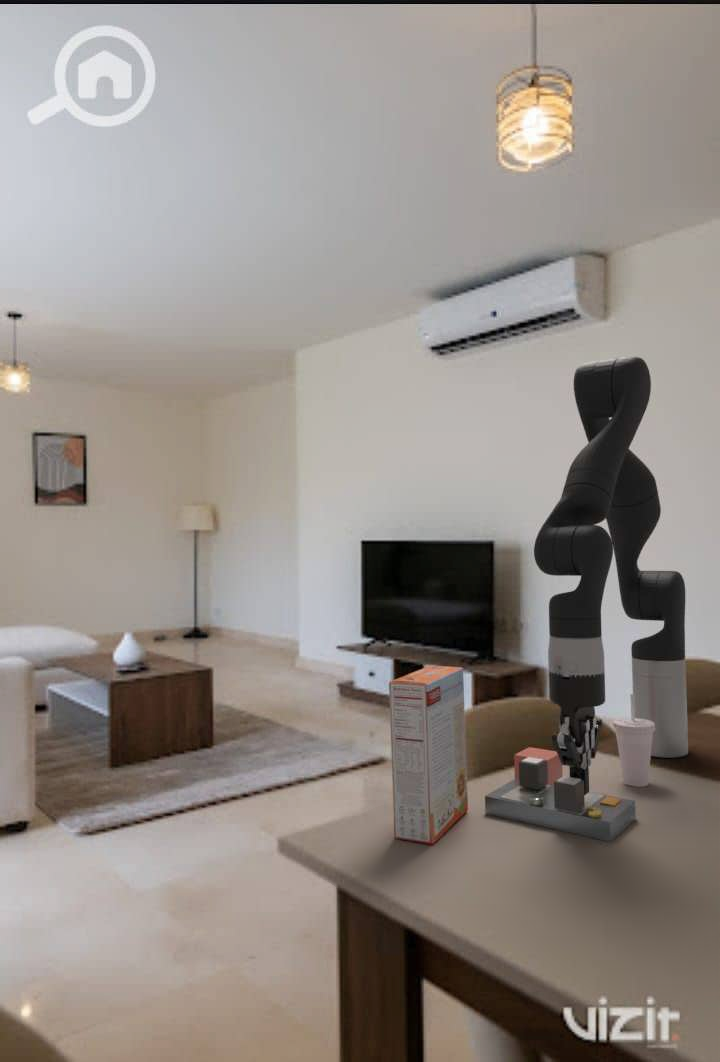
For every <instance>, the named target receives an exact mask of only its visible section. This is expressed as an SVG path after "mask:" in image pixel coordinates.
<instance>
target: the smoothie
mask: <svg viewBox="0 0 720 1062" xmlns="http://www.w3.org/2000/svg"><path fill="white" fill-rule="evenodd" d="M629 695H630V717H625V718H624V717H623V718H621V717H620V718H616V719H614V720H613V721H612V722H613V724H612V728H613V729H614V730H615V735H616V736H615V737H616V742H617V748H618V755H619V763H620V768H621V769H620V770H621V775H622V783H623V784H624V785H627V786H631V787H638V788H639V787H646V786H648V785H649V779H650V778H649V775H650V767H651V766H650V765H651V758H652V756H651V749H652V739H653V731H655V723H654V722H652V721H649V720H645V719H638V718H635V711H634V694H633V693H630V694H629Z"/></svg>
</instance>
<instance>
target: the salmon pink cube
mask: <svg viewBox="0 0 720 1062" xmlns="http://www.w3.org/2000/svg"><path fill="white" fill-rule="evenodd" d="M513 757H514V758H513V759H514V763H513V764H514V766H513V767H514V779H516V778H517V779H519V762H520V761H522V760H524V759H526V758H528V757H532V758H538V759H544V760H546V761H547V784H549V785H554V782H555V781H556V780H558V779H560V778H561V777H563V776H564V775H563V765H562V764H561V761H560V759H559V756H558V754H557V752H556V750H549V749H545V748H536V747H530V746H529V747H527V748H525V749H523V750H521V751H519V752H516V753H514V756H513Z"/></svg>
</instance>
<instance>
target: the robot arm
mask: <svg viewBox="0 0 720 1062" xmlns="http://www.w3.org/2000/svg"><path fill="white" fill-rule="evenodd" d="M651 389H652V379H651V374H650V370H649V367H648V364H647V362H646V361H645V360H644V359H643V358H642V357H638V356H624V357H623V356H622V357H617V358H616V357H615V358H610V359H608V358H607V359H603V360H595V361H589V362H583V363H582V364H580V365H579V366H578V367H577V368H576V369H575V371H574V377H573V393H574V399H575V404H576V407H577V408H576V409H577V411H578V414H579V419H580V421H581V424H582V427H583V430H584V433H585V436H586V439H587V444H586V445H585V446H584V447H583V448H582V449H580V451H579V452H578V454H577V455H576V457H575V458H574V459H573V461H572V463H571V464H570V466H569V469H568V472H567V475H566V478H565V479H566V480H565V482H564V486H563V490H562V493H561V497H560V499H559V501H558V502H557V503H556V505H555V506H554V508H553V509H552V511H551V512H550V514H549V515H548V517H547V518H546V520H545V521H544V523H543V524H542V525H541V527H540V529H539V531H538V533H537V536H536V539H535V542H534V546H533V556H534V562H535V563H536V565H537V567H538V569H539V570H540V571H541V572H542V573H544V574H546V575H548V576H554V577H555V576H557V577H559V576H561V577H563V576H564V577H565V576H569V577H570V576H572V577H574V576H575V577H576V576H577V577H579V576H580V580H579V582H578V585H577V587H576V588H575V589H573V590H571V591H566V592H561V593H557V594H555V595H553V596H552V597H551V598H550V599H549V602H548V624H549V625H548V629H549V630H548V631H549V642H548V649H547V650H548V651H547V652H548V653H547V659H548V661H547V662H548V698H549V700H550V702H552V703H553V704H555V705H558V706H559V707H560V709H559V710H560V711H559V719H558V728H559V732H558V733H557V732H553V733H552V735H551V741H552V744H553V747H554V749H555V751H556V752H557V754H558V756H559V759H560V761H561V764H562V766H564V767H565V766H567V768H568V769H569V777H572V778H578V779H581V780H584V796H585V795H586V794H587V793H589V792H590V770H589V769H590V768H589V767H591V765H592V759H596V754H597V749H598V745H599V741H600V736H601V731H602V727H603V721H602V719H601V718H597V716H596V710H595V707H600V706H602V705H604V704H605V702H606V678H605V677H606V676H605V674H606V672H605V669H606V668H605V650H604V645H603V636H602V635H603V634H602V605H603V604H602V603H603V598H604V592H605V587H606V584H607V578H608V576H609V572H610V569H611V568H610V567H611V564H612V561H613V555H614V558H615V565H616V572H617V573H616V574H617V579H618V588H619V594H620V600H621V601H620V602H621V605H622V608H623V611H624V613H625V614H626V616H627V617H628V618H629V619H631V620H637V621H655V622H656V621H661V622H663V628H662V629H660V630H659V631H658V632H656V633H655V634H652V635H650V636H646V637H643V638H639V639H636V640H634V641H633V642H632V644H631V673H632V694H634V711H635V718H638V719H645V720H649V721H652V722H654V723H655V731H653V739H652V749H651V757H654V758H655V757H657V758H669V759H671V758H681V757H685V756H687V755H688V754H689V741H688V737H689V735H688V730H689V729H688V704H687V702H688V701H687V697H688V696H687V672H686V671H687V669H686V668H687V667H686V633H685V632H686V629H685V625H686V621H685V620H686V619H685V618H686V584H685V579H684V577H683V576H682V574H681V572H679V571H677V570H640V569H639V566H638V560H639V557H640V555H641V553H642V550H643V549H644V547H645V545H646V543H647V542H648V540H649V539H650V537H651V535H652V534H653V532H654V530H655V528H656V527H657V526H658V523H659V520H660V517H661V510H662V508H661V501H660V497H659V490H658V487H657V481H656V479H655V478H656V477H655V476H654V474H653V473H652V471H651V470H650V469H649V467H648V466H647V464H645V463H644V462H643V461H642V460H641V459H640V458H639V457H638V456H637V455H636V454H635V453H634V452H633V451H632V450H631V449H630V446H631V444H632V443H633V440H634V438H635V435H636V433H637V431H638V428H639V427H640V424H641V423H642V420H643V418H644V416H645V413H646V410H647V407H648V405H649V402H650V397H651V391H652V390H651ZM605 520H606V522H607V523H606V524H607V526H608V531H609V533H608V531H607V530H606V529H605V528H604V527H602V526H601V525H597V524H600V523H602V522H603V521H605Z"/></svg>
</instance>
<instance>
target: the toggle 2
mask: <svg viewBox="0 0 720 1062" xmlns="http://www.w3.org/2000/svg"><path fill="white" fill-rule="evenodd" d="M584 806H585V803H584V780H581V779H578V778H572V777H570V776H565V775H563V777H561V778H560V779H558V780H556V781H555V782H554V807H555V809H560V810H565V811H570V812H575V813H577V812H578V811H579V810H581V809H582V808H583V807H584Z"/></svg>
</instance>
